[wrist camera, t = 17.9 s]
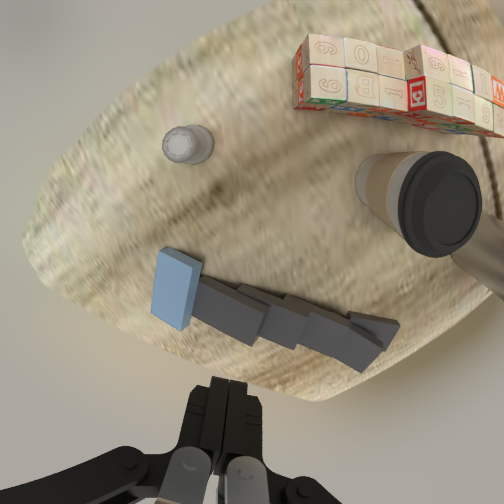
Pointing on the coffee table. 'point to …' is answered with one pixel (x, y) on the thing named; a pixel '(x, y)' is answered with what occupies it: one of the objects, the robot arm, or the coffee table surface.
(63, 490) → the robot arm
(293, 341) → the domino
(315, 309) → the domino
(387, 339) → the domino
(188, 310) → the tile
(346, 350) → the domino
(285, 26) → the coffee table surface
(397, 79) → the stack of blocks
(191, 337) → the coffee table surface
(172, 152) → the rook chess piece
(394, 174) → the coffee cup
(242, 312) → the domino
